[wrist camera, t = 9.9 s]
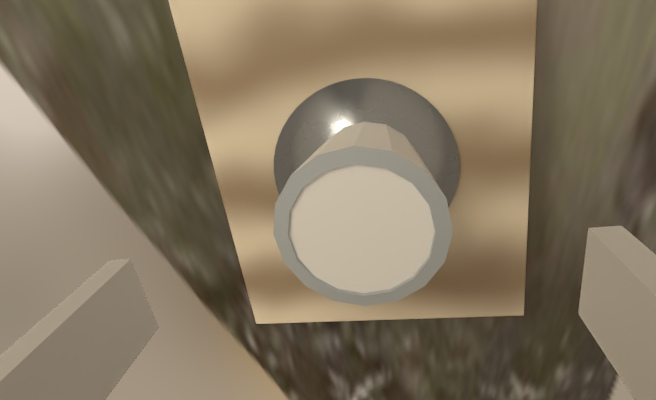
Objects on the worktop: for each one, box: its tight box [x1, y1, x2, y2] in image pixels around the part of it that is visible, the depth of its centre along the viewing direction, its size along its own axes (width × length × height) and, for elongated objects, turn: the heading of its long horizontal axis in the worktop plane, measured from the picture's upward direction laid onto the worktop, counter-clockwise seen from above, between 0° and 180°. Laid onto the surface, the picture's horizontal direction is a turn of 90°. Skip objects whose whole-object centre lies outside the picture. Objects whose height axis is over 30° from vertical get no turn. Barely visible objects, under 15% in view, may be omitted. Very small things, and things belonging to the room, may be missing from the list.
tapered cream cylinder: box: [273, 122, 453, 306], centre depth 18 cm, size 7×7×7 cm
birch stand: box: [168, 0, 537, 324], centre depth 23 cm, size 20×17×4 cm
